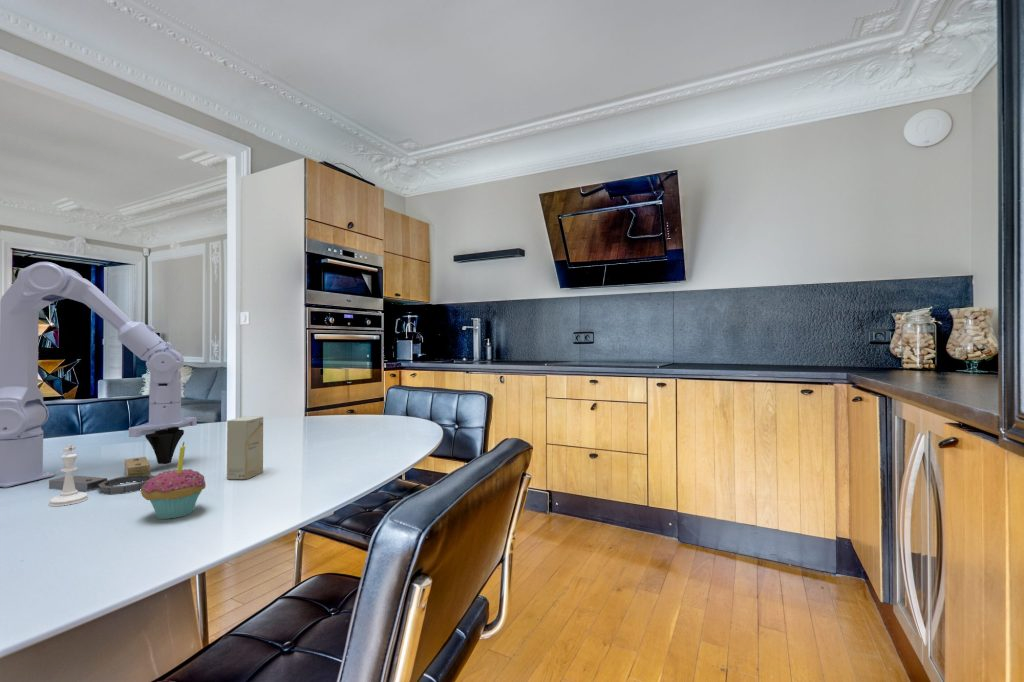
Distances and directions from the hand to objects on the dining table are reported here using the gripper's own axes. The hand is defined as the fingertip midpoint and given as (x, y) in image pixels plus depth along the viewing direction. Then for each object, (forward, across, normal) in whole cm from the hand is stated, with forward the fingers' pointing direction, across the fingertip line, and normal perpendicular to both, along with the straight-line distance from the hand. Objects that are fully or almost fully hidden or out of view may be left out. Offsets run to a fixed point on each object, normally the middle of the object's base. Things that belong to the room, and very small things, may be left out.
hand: (164, 463), depth 101 cm
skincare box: (+1, -2, -22) cm, 22 cm away
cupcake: (+1, -22, -27) cm, 35 cm away
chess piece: (+1, -22, -4) cm, 22 cm away
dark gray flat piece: (+1, -13, -1) cm, 13 cm away
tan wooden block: (+1, -6, 0) cm, 6 cm away
